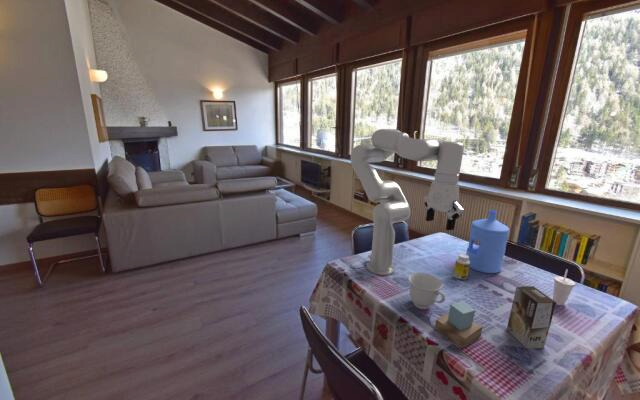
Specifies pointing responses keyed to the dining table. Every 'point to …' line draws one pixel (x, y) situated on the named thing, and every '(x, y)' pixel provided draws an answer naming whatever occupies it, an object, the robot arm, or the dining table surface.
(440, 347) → the dining table surface
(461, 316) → the slate block
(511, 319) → the coffee box
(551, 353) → the dining table surface
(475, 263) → the water jug
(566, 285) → the smoothie
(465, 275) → the supplement bottle
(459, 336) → the tan flat block
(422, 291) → the teacup
